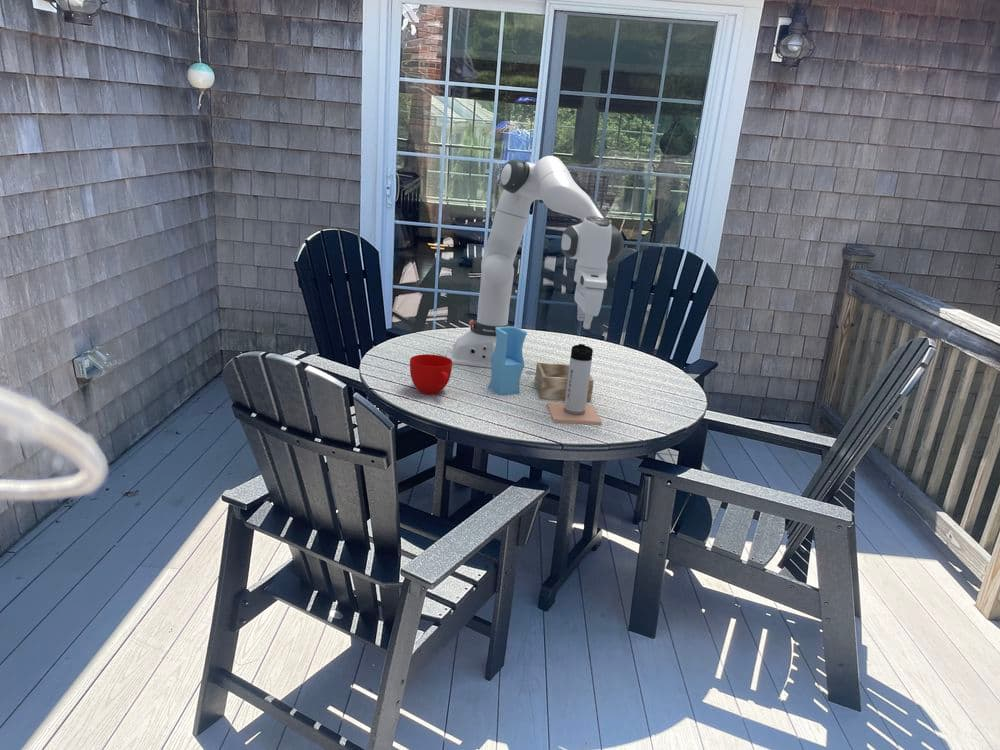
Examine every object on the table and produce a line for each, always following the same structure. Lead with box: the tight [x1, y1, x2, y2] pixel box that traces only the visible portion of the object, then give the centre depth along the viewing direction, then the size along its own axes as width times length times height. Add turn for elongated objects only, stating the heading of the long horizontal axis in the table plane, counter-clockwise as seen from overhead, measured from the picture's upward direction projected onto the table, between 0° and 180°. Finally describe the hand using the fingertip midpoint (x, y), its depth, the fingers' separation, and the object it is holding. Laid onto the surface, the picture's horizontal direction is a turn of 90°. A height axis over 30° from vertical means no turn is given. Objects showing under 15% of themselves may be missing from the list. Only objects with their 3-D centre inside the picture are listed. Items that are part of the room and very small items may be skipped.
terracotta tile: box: [546, 402, 603, 426], centre depth 215 cm, size 14×14×1 cm
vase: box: [487, 325, 528, 396], centre depth 229 cm, size 8×8×20 cm
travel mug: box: [564, 343, 594, 415], centre depth 213 cm, size 6×7×20 cm
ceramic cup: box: [409, 353, 453, 396], centre depth 221 cm, size 13×17×10 cm
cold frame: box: [534, 361, 595, 402], centre depth 234 cm, size 16×16×7 cm
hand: (583, 324), depth 207 cm, fingers open, 8 cm apart
